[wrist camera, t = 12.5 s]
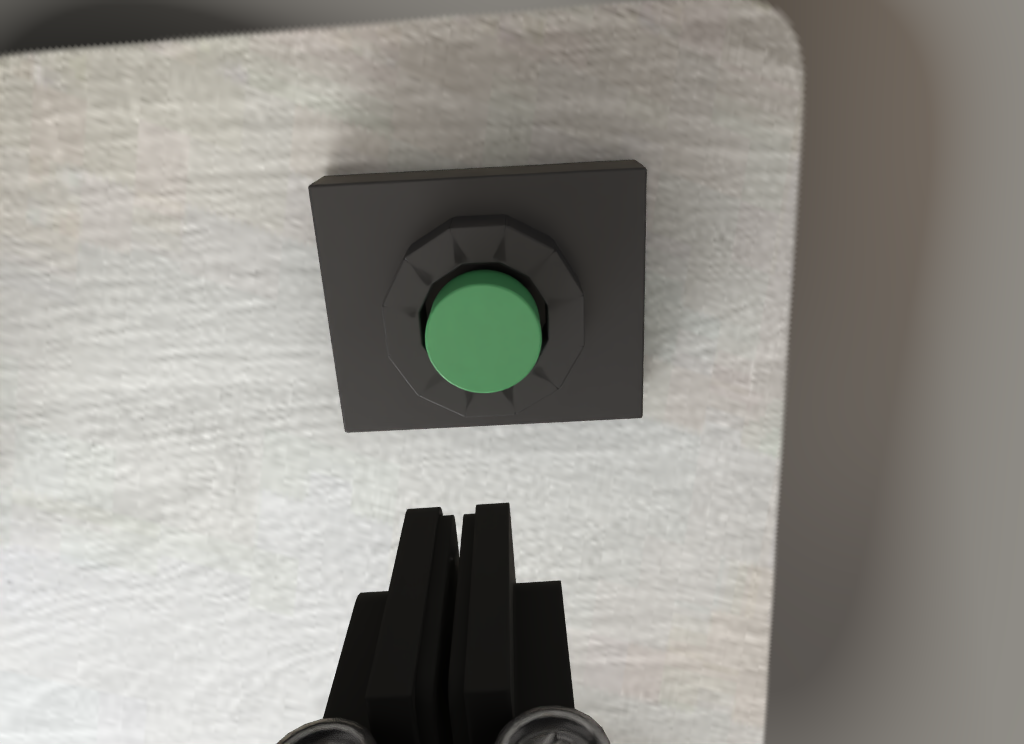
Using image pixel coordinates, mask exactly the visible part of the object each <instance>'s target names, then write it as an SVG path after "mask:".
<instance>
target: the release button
mask: <svg viewBox="0 0 1024 744" xmlns="http://www.w3.org/2000/svg"><path fill="white" fill-rule="evenodd" d="M425 344H426V350H427V353H428V356H429V359H430V361H431V363H432V364H433V366H434V367H435V369H436V370H437V371H438V373H439V374H440V375H441V376H442V377H443V378H444V379H446V380H447V381H448V382H450V383H451V384H453V385H455V386H457V387H458V388H461V389H464V390H467V391H470V392H476V393H492V392H498V391H502V390H504V389H507V388H510V387H511V386H513V385H515V384H517V383H518V382H520V381H521V380H522V379H523V378H525V377H526V376H527V375H528V373H529V372H530V371H531V370H532V368H533V367H534V365H535V364H536V362H537V359H538V357H539V354H540V351H541V345H542V332H541V324H540V317H539V312H538V308H537V305H536V302H535V300H534V298H533V297H532V295H531V293H530V292H529V291H528V289H527V288H526V287H525V286H524V285H523V284H522V283H520V282H519V281H518V280H517V279H515V278H513V277H512V276H510V275H507V274H505V273H502V272H499V271H495V270H473V271H469V272H466V273H463V274H461V275H459V276H457V277H455V278H453V279H452V280H451V281H449V282H448V283H447V284H446V285H445V286H444V287H443V288H442V289H441V290H440V292H439V293H438V294H437V296H436V298H435V300H434V302H433V305H432V308H431V311H430V314H429V318H428V321H427V325H426V330H425Z"/></svg>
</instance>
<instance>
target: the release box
mask: <svg viewBox="0 0 1024 744" xmlns="http://www.w3.org/2000/svg"><path fill="white" fill-rule="evenodd" d="M646 183H647V169H646V168H645V167H644V166H643V165H641V164H640V163H639V162H637V161H636V160H620V161H601V162H582V163H563V164H544V165H525V166H507V167H488V168H469V169H450V170H431V171H412V172H393V173H375V174H356V175H337V176H324V177H322V178H320V179H319V180H317V181H316V182H314V183H312V184H311V185H309V187H308V189H309V196H310V202H311V209H312V216H313V222H314V229H315V236H316V242H317V249H318V256H319V262H320V269H321V276H322V282H323V289H324V296H325V302H326V309H327V316H328V322H329V329H330V336H331V342H332V349H333V356H334V362H335V369H336V376H337V382H338V389H339V396H340V403H341V409H342V416H343V423H344V429H345V432H347V433H350V432H370V431H390V430H410V429H430V428H450V427H470V426H490V425H510V424H530V423H550V422H570V421H591V420H611V419H631V418H642V416H643V361H644V302H645V242H646ZM473 270H495V271H499V272H502V273H505V274H507V275H510V276H512V277H513V278H515V279H517V280H518V281H519V282H520V283H522V284H523V285H524V286H525V287H526V288H527V289H528V291H529V292H530V293H531V295H532V297H533V298H534V300H535V302H536V305H537V308H538V312H539V317H540V324H541V332H542V345H541V351H540V354H539V357H538V359H537V362H536V364H535V365H534V367H533V368H532V370H531V371H530V372H529V373H528V375H527V376H526V377H525V378H523V379H522V380H521V381H520V382H518V383H517V384H515V385H513V386H511V387H510V388H507V389H504V390H502V391H498V392H492V393H476V392H470V391H467V390H464V389H461V388H458V387H457V386H455V385H453V384H451V383H450V382H448V381H447V380H446V379H444V378H443V377H442V376H441V375H440V374H439V373H438V371H437V370H436V369H435V367H434V366H433V364H432V363H431V361H430V359H429V356H428V353H427V350H426V344H425V330H426V325H427V321H428V318H429V314H430V311H431V308H432V305H433V302H434V300H435V298H436V296H437V294H438V293H439V292H440V290H441V289H442V288H443V287H444V286H445V285H446V284H447V283H448V282H449V281H451V280H452V279H453V278H455V277H457V276H459V275H461V274H463V273H466V272H469V271H473Z"/></svg>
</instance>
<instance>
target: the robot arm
mask: <svg viewBox="0 0 1024 744" xmlns="http://www.w3.org/2000/svg"><path fill="white" fill-rule="evenodd" d="M277 744H610V741H609V739H608V738H607V736H606V734H605V732H604V730H603V728H602V727H601V726H600V725H599V724H598V723H597V722H596V721H595V720H593V719H592V718H591V717H590V716H588V715H586V714H584V713H582V712H580V711H578V710H576V709H575V707H574V698H573V689H572V680H571V670H570V661H569V652H568V642H567V633H566V624H565V614H564V605H563V596H562V587H561V581H546V582H530V583H516V579H515V566H514V554H513V541H512V529H511V516H510V506H509V503H496V504H480V505H476V512H475V514H464V516H463V525H462V536H461V547H460V558H459V550H458V541H457V532H456V523H455V517H454V515H446V516H443V513H442V509H441V507H432V508H416V509H407V511H406V514H405V519H404V523H403V528H402V532H401V537H400V541H399V546H398V550H397V555H396V559H395V564H394V568H393V573H392V577H391V582H390V586H389V591H382V592H365V593H360V594H359V595H358V597H357V599H356V602H355V605H354V609H353V613H352V616H351V620H350V623H349V627H348V630H347V634H346V638H345V641H344V645H343V648H342V652H341V656H340V659H339V663H338V666H337V670H336V674H335V677H334V681H333V684H332V688H331V691H330V695H329V699H328V702H327V706H326V709H325V713H324V717H323V719H320V720H317V721H314V722H310V723H307V724H304V725H302V726H301V727H299V728H297V729H295V730H293V731H292V732H290V733H288V734H287V735H286V736H285V737H283V738H282V739H281V740H280V741H279V742H278V743H277Z"/></svg>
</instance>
